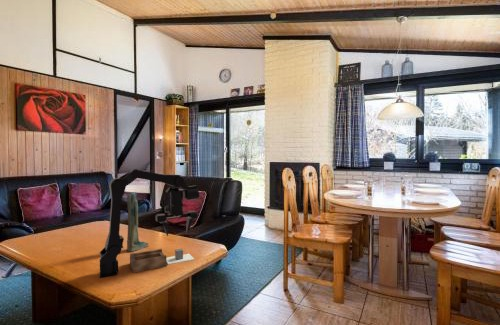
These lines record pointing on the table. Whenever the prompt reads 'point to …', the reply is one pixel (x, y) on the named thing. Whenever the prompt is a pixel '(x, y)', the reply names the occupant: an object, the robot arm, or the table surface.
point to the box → (147, 260)
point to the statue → (133, 225)
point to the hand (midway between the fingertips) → (177, 234)
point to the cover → (179, 257)
